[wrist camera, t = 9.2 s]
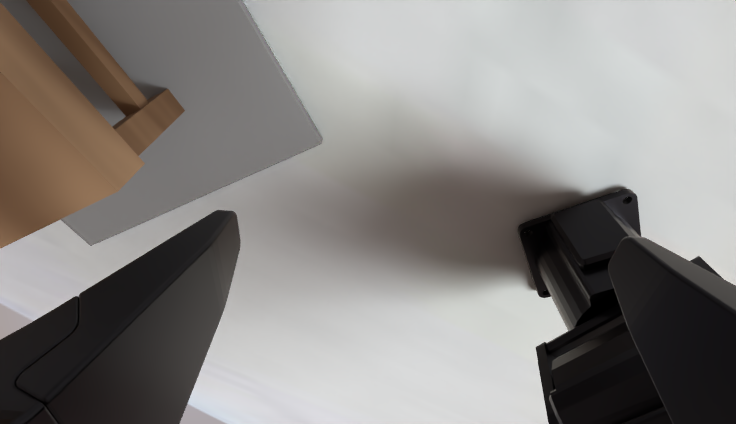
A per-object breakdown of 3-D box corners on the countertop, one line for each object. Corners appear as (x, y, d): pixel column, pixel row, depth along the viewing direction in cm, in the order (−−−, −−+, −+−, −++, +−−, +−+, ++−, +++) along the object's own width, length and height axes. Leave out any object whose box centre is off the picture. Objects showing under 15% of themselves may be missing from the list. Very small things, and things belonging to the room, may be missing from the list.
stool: (7, -129, 14) (-238, -170, 8) (192, 114, 19) (118, 191, 14) (-96, -44, 16) (-364, -29, 10) (101, 161, 21) (0, 248, 15)
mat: (322, 138, 21) (321, 143, 20) (96, 239, 25) (90, 245, 24) (16, -390, 11) (0, -404, 11) (-270, -90, 15) (-290, -91, 15)
